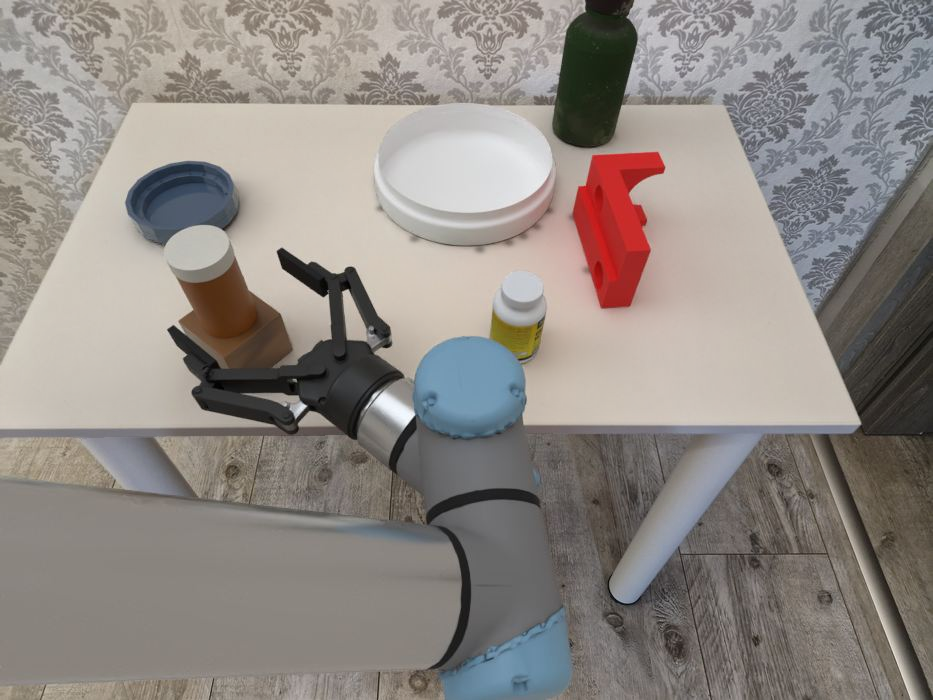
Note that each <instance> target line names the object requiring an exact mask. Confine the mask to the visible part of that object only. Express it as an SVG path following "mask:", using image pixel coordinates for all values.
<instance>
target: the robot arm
mask: <svg viewBox="0 0 933 700" xmlns="http://www.w3.org/2000/svg"><path fill="white" fill-rule="evenodd" d="M276 255H277V258H278V261H279V264H280V267H281V269H282V271H285V273H287V274H289V275H290V276H291V277H293V278H294V279H296V280H297V281H299V282H300V283H302V285H304V286H306V288H309V290H311V291H313V292H314V293H316V294H317V295H319V296H320V297H322V298H325V297H326V296H328V304H329V316H330V334H331V338H329V339H325V340H323V339H320V340H319V341H318V342H317V343H315V345H314V346H313V347H312V349H311V350H310V351H308V352H305V353H304V354H303V355H301V356H300V357H299V358H298V359H297V363H296V364H282V365H280V366H279V367H272V368H246V369H221V368H220V366H219V364H218V362H217V360H215V359H214V358H213V357H212V356H211V355H209V354H208V353H207V352H206V351H205V350H203V349H202V348H201V347H200V346H198V345H197V344H196V343H195V342H194V341H192V340H191V339H190V338H189V337H188V336H186V334H185V332H184V331H183V330H181V329H179V328H178V327H177V326H176V325H175V324H171V326H170V327H168V328H167V329H166V331H167V333H168V334H169V336H170V338H171V339H172V340H173V342H174V344H175V345H176V347H177V348H179V349H180V351H182V352H183V353H184V354H185V356H184V357H182V362H183V363H184V365H185V367H186V368H187V370H188V371H189V372H190V373H191V374H192V375H193V376H195V378H197V379H198V380H199V381H200V383H199V385H195V386H194V387H193V388H192V389H191V396H192V397H193V399H194V400H195V402H196V403H197V405H198V406H199V408H200V409H201V410H202V411H206V412H211V413H216V414H220V415H225V416H229V417H235V418H239V419H242V420H243V419H244V420H249V421H254V422H258V423H263V424H267V425H272V426H275V427H276V428H278V429H280V430H281V431H283V432H284V433H285V434H287V435H290V436H293V435H296V434H297V433H299V430H300V427H299V423H300V422H301V421H302V420H303V419H304V418H305V417H306V416H307V414H308V413H309V412H312V413H313V412H314V413H317V414H319V415H321V416H322V417H323V418H325V419H326V420H327V421H328V422H329V423H331V424H332V425H333V426H334V427H336V428H337V429H338V430H340V431H341V433H343V434H345V436H347V437H348V438H350V439H351V440H353V441H357V444H358V445H359V446H360V447H361V448H362V449H363V450H365V452H367V453H369V454H370V455H371V456H372V457H374V458H375V459H376V460H377V461H378V462H379V463H381V464H382V465H383V466H385V467H386V468H387V469H388V470H389V471H392V472H393V474H395V475H397V477H399V478H400V479H401V480H403V481H404V482H405V483H406V484H408V486H410V487H411V488H412V489H414V491H416V492H417V493H419V494H420V495H421V496H422V497H423V499H424V507H425V508H424V509H425V523H419V522H411V521H401V520H394V519H385V518H376V517H368V516H367V517H366V516H360V515H350V514H341V513H333V512H325V511H317V510H306V509H300V508H299V509H297V508H289V507H280V506H273V505H272V506H271V505H264V504H254V503H245V502H236V501H230V500H229V501H228V500H220V499H211V498H202V497H193V496H184V495H178V494H177V495H176V494H167V493H159V492H152V491H151V492H150V491H141V490H133V489H125V488H117V487H108V486H107V487H106V486H99V485H91V484H82V483H81V484H80V483H72V482H64V481H63V482H62V481H54V480H45V479H38V478H29V477H21V476H20V477H19V476H11V475H3V474H0V687H1V688H2V687H23V686H25V687H26V686H47V685H49V686H51V685H76V684H101V683H122V682H123V683H124V682H127V683H128V682H148V681H152V682H153V681H174V680H198V679H199V680H200V679H201V680H202V679H222V678H224V679H225V678H227V679H228V678H248V677H249V678H250V677H251V678H253V677H272V676H273V677H275V676H299V675H300V676H301V675H303V676H304V675H325V674H326V675H327V674H349V673H350V674H351V673H352V674H353V673H354V674H355V673H375V672H401V671H402V672H403V671H404V672H405V671H426V670H438V674H437V675H438V676H437V678H438V680H439V681H440V682H441V686H442V692H443V698H444V700H550V699H552V698H554V697H557V696H560V695H561V694H562V693H564V692H565V691H566V690H567V689H568V687H569V686H570V684H571V682H572V679H573V674H574V667H573V661H572V653H571V646H570V640H569V634H568V633H569V631H568V624H567V618H566V614H567V612H566V607H565V605H564V604H563V601H562V596H561V593H560V588H559V583H558V578H557V574H556V569H555V566H554V561H553V556H552V552H551V547H550V543H549V539H548V534H547V529H546V526H545V521H544V517H543V513H542V507H541V499H540V495H539V491H538V489H539V487H540V484H541V476H540V473H539V472H538V471H537V469H536V468H535V467H534V465H533V463H532V456H531V452H530V447H529V443H528V438H527V433H526V428H525V424H524V417H523V414H524V412H525V410H526V405H527V402H528V398H527V397H528V396H527V394H526V385H527V384H526V374H525V371H524V369H523V366H522V363H520V362H519V361H518V359H517V358H516V357H515V355H514V354H513V353H512V352H511V351H510V350H509V349H507V348H506V347H505V346H503V345H501V344H500V343H498V342H496V341H493V340H491V339H490V338H488V337H483V336H478V335H467V336H465V335H463V336H459V337H451V338H448V339H446V340H444V341H442V342H439V343H438V344H436V345H435V346H433V347H432V348H431V349H430V350H429V351H427V353H425V355H424V356H423V357H422V358H421V360H420V362H419V364H418V366H417V368H416V371H415V375H414V380H413V378H410V377H406V376H405V374H404V373H403V372H402V371H401V370H399V369H398V368H396V367H395V366H394V365H392V364H391V363H389V362H388V361H387V360H386V359H384V358H383V357H381V356H380V355H377V354H376V352H377V351H378V350H380V349H381V348H383V349H390V348H391V347H392V346H393V336H392V335H393V334H392V329H391V326H390V325H389V324H388V323H387V321H385V320H383V318H381V317H380V316H379V314H378V313H377V310H376V309H375V306H374V305H373V303H372V300H371V298H370V295H369V294H368V291H367V290H366V287H365V285H364V284H363V281H362V279H361V277H360V275H359V273H358V270H357V269H356V268H355V266H346V267H345V268H344V270H343V272H340V273H336V272H331V271H330V270H328V269H327V268H325V267H324V266H322V265H321V264H319V263H318V262H317V261H310V262H308V263H305V262H304V261H303V260H301V259H300V258H298V257H297V256H295V255H294V254H293V253H291V252H290V251H288V250H287V249H285V248H284V247H282V246H281V247H280V248H279V249H277V250H276ZM345 291H348V292H349V293H350V296H351V298H352V300H353V302H354V305H355V307H356V309H357V311H358V314H359V316H360V318H361V320H362V322H363V324H364V327H365V329H366V331H365V335H366V341H364V340H358V339H357V340H355V339H354V340H353V339H348V334H347V324H346V316H345V315H346V314H345V305H344V293H343V292H345ZM294 380H296V381H294ZM250 394H284V395H285V396H289V397H290V396H291V397H292V396H293V397H297V396H298V399H299V400H298V401H297V402H294V403H291V402H288V401H286V400H285V401H282V402H281V403H280V402H278V401H274V400H272V399H269V398H263V397H258V396H253V395H250Z"/></svg>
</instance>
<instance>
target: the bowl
mask: <svg viewBox="0 0 933 700" xmlns="http://www.w3.org/2000/svg"><path fill="white" fill-rule="evenodd" d="M239 202H240V197H239V195H238V192H237V189H236V186H235V184H234V181H233V180H232V176H231V174H230V173H229V172H227V171H226V170H225V169H224V168H222V167H221V166H220V165H217V164H214V163H211V162H209V161H208V162H207V161H199V160H183V161H177V162H170V163H167V164H165V165H161V166H160V167H157V168H154V169H152V170H150V171H149V172H147V173H146V174H144V175H143V176H141V177H140V178H138V179H137V180H136V182H134V184H133V185H132V186H131V187H130V188H129V190H128V191H127V194H126V198H125V201H124V205H125V209H126V212H127V216H128V217H129V219H130V221H131V222H132V224H133V226H134V228H135V229H136V230H137V231H138V232H139V233H140V234H141V235H142V236H143V237H144V238H145V239H147V240H151V241H153V242H155V243H159V244H164V245H166V243H167V242H168V241H169V239H170V238H171V237H172V236H174V235H175V234H176V233H178V232H179V231H181V230H183V229H186V228H188V227H192V226H197V225H211V226H215V227H218V228H220V229H222V230H223V228H225V227H226V226H227V225H229V224H230V223H231V221H232V220H233V218H234V217H235V216H236V214H237V212H238V208H239V204H240V203H239Z"/></svg>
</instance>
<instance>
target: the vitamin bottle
mask: <svg viewBox="0 0 933 700" xmlns="http://www.w3.org/2000/svg"><path fill="white" fill-rule="evenodd" d="M163 258H164V260H165V262H166V264H167V266H168V267H169V269H170V271H171V273H172V274H173V275H174V277H175V279H176V280H177V282H178V284H179V286H180V287H181V289H182V291H183V293H184V295H185V297H186V298H187V301H188V303H189V304H190V306H191V308H192V311H193V310H194V312H195V314H196V316H197V317H198V319H199V321H200V323H201V325H202V327H203V329H204V330H205V331H206V332H207V333H208V334H209V335H211V336H214V337H217V338H231V337H235V336H238V335H240V334H242V333H244V332H245V331H247V330H248V329H249V328H250V327H251V326H252V325H253V323H254V322H255V319H256V316H257V310H256V307H255V304H254V302H253V299H252V297H251V294H250V292H249V291H250V290H249V287H248V285H247V282H246V279H245V277H244V275H243V272H242V270H241V267H240V265H239V262H238V260H237V256H236V255H235V250H234V247H233V245H232V242H231V240H230V237H229V236H228V234H227V233H226V232H225V230H223V228H222V229H220V228H218V227H215V226H211V225H197V226H192V227H188V228H186V229H183V230H181V231H179V232H178V233H176V234H175V235H174V236H172V237H171V238H170V239H169V241H168V242H167V243H166V244H164V247H163Z"/></svg>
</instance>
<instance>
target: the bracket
mask: <svg viewBox="0 0 933 700" xmlns="http://www.w3.org/2000/svg"><path fill="white" fill-rule="evenodd" d="M666 169H667V167H666V165H665V163H664V160H663V158H662V156H661V154H660V152H659V151H644V152H626V153H625V152H624V153H606V154H605V153H604V154H592V156H591V159H590V164H589V169H588V173H587V176H586V177H587V178H586V181H585V185H578V186H577V190H576V196H575V201H574V206H573V210H572V217H573V221H574V224H575V227H576V230H577V235H578V237H579V239H580V243H581V247H582V250H583V253H584V256H585V261H586V263H587V266H588V269H589V273H590V276H591V280H592V282H593V286H594V289H595V293H596V296H597V299H598V302H599V306H600V308H601V309H610V308H611V309H612V308H613V309H614V308H625V307H631V305H632V302H633V300H634V297H635V294H636V292H637V289H638V287H639V284H640V281H641V278H642V276H643V273H644V270H645V267H646V265H647V262H648V259H649V257H650V254H651V251H652V249H651V247H650V244H649V242H648V239H647V237H646V234H645V231H644V229H643V227H644V226H646V225H647V222H648V218H647V216H646V214H645V211H644V209H643V205H642V204H636V203H635V204H634V203H633V201H632V198H631V195H630V193H631V191H632V190H633V189H634V188H635V187H637V185H638V184H639V183H642V182H643V181H644V180H646V179H649V178H651V177H653V176H658V175H663V174H664V173H665V171H666Z"/></svg>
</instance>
